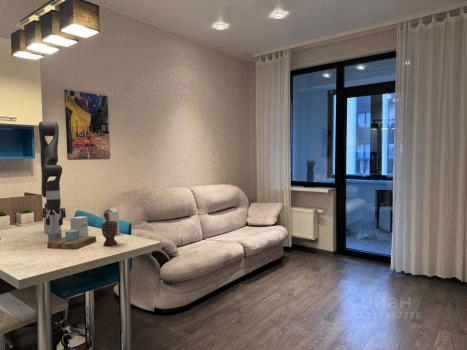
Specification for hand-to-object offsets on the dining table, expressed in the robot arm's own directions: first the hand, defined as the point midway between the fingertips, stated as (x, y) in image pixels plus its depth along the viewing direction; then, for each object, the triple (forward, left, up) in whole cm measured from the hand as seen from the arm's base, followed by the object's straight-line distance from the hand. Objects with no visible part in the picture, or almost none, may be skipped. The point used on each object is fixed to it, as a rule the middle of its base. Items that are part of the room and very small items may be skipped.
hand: (54, 225), depth 198 cm
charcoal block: (0, 0, -10) cm, 10 cm away
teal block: (+16, -5, -7) cm, 18 cm away
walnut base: (+16, -5, -10) cm, 19 cm away
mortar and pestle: (+39, -3, -10) cm, 40 cm away
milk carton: (+24, +22, -10) cm, 34 cm away
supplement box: (+7, +13, -10) cm, 18 cm away
